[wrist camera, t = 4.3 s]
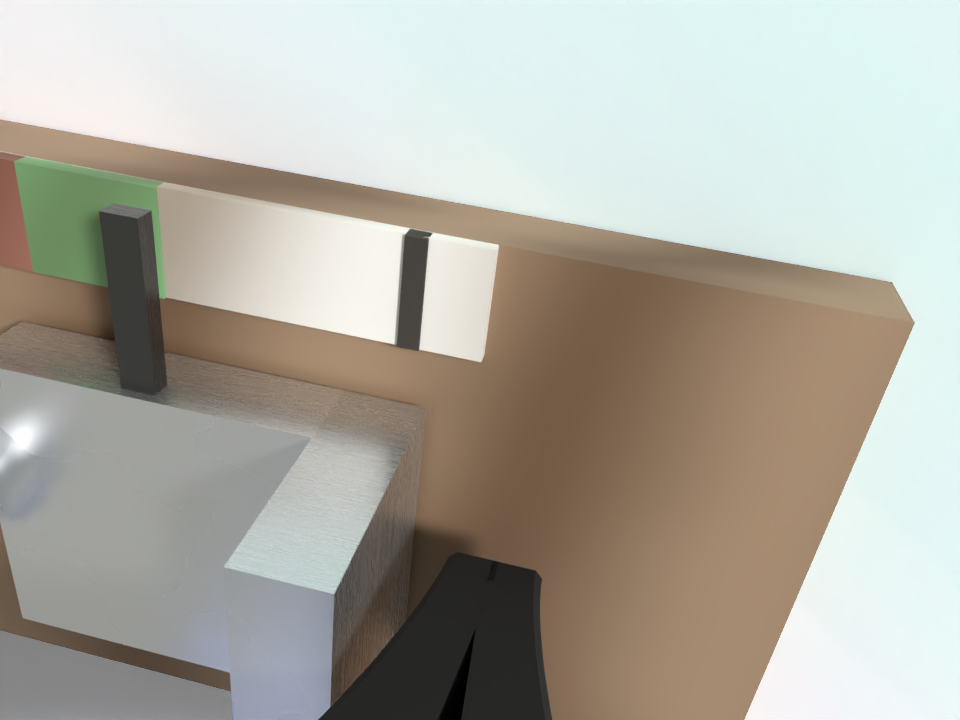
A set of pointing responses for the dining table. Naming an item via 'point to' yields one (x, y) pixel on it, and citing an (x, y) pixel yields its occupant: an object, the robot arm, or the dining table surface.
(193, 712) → the dining table surface
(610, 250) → the gauge frame
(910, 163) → the dining table surface
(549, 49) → the dining table surface
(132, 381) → the brushed steel block
